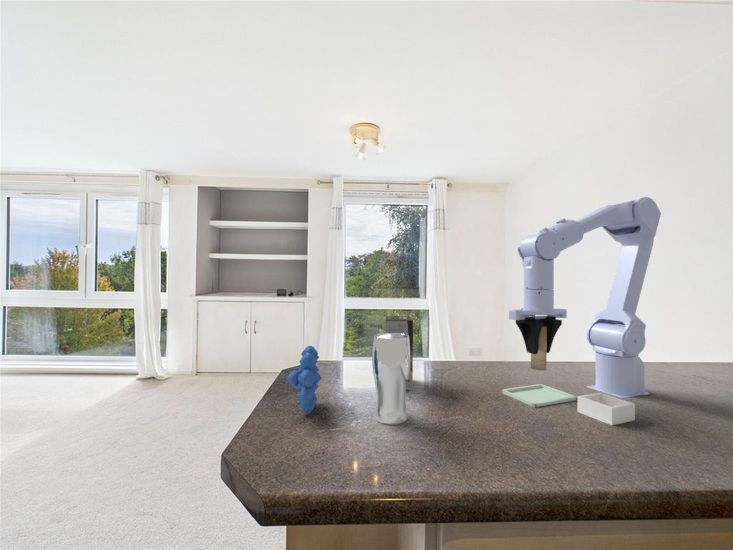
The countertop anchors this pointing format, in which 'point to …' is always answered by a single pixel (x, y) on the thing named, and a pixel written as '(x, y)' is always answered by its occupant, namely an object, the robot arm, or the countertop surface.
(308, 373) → the grapes
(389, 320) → the coffee box
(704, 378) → the countertop surface
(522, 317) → the robot arm
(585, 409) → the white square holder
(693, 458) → the countertop surface
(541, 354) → the dowel
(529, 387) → the tray
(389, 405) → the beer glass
